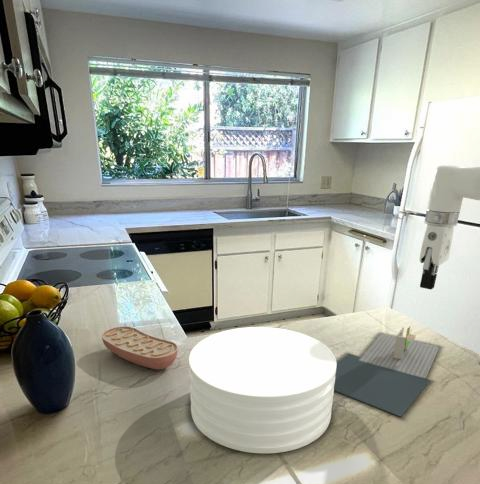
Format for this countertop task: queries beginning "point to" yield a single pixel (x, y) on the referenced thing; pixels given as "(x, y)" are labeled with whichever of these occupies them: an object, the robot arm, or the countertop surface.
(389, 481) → the countertop surface
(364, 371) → the mat
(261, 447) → the plate stack
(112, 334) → the mitochondrion model
